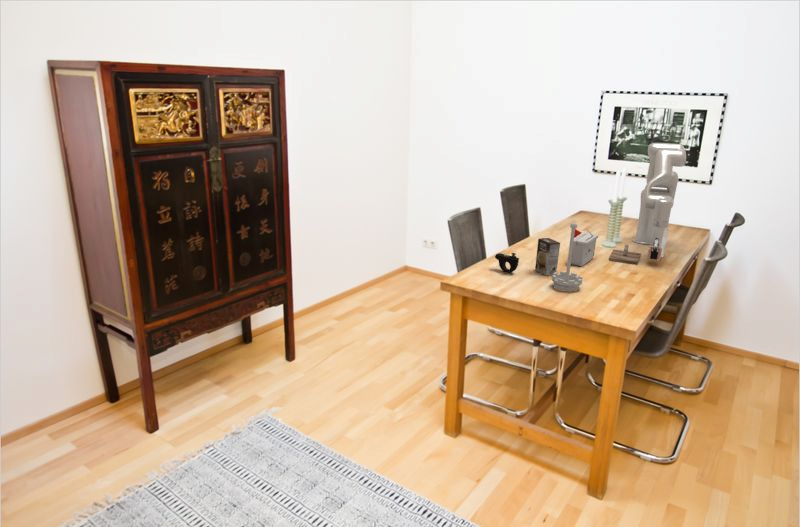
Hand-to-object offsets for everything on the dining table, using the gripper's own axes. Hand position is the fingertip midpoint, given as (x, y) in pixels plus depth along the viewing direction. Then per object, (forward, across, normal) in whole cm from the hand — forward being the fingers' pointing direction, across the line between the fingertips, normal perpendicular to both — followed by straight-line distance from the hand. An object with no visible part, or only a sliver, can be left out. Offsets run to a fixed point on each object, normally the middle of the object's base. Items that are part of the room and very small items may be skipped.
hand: (654, 256), depth 284 cm
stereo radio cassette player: (+4, +16, -33) cm, 37 cm away
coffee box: (+3, +44, -45) cm, 63 cm away
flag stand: (+3, +60, -32) cm, 68 cm away
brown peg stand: (+4, -2, -14) cm, 15 cm away
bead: (+1, 0, 0) cm, 1 cm away
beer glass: (+4, -16, +1) cm, 17 cm away
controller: (+3, +53, -62) cm, 81 cm away
